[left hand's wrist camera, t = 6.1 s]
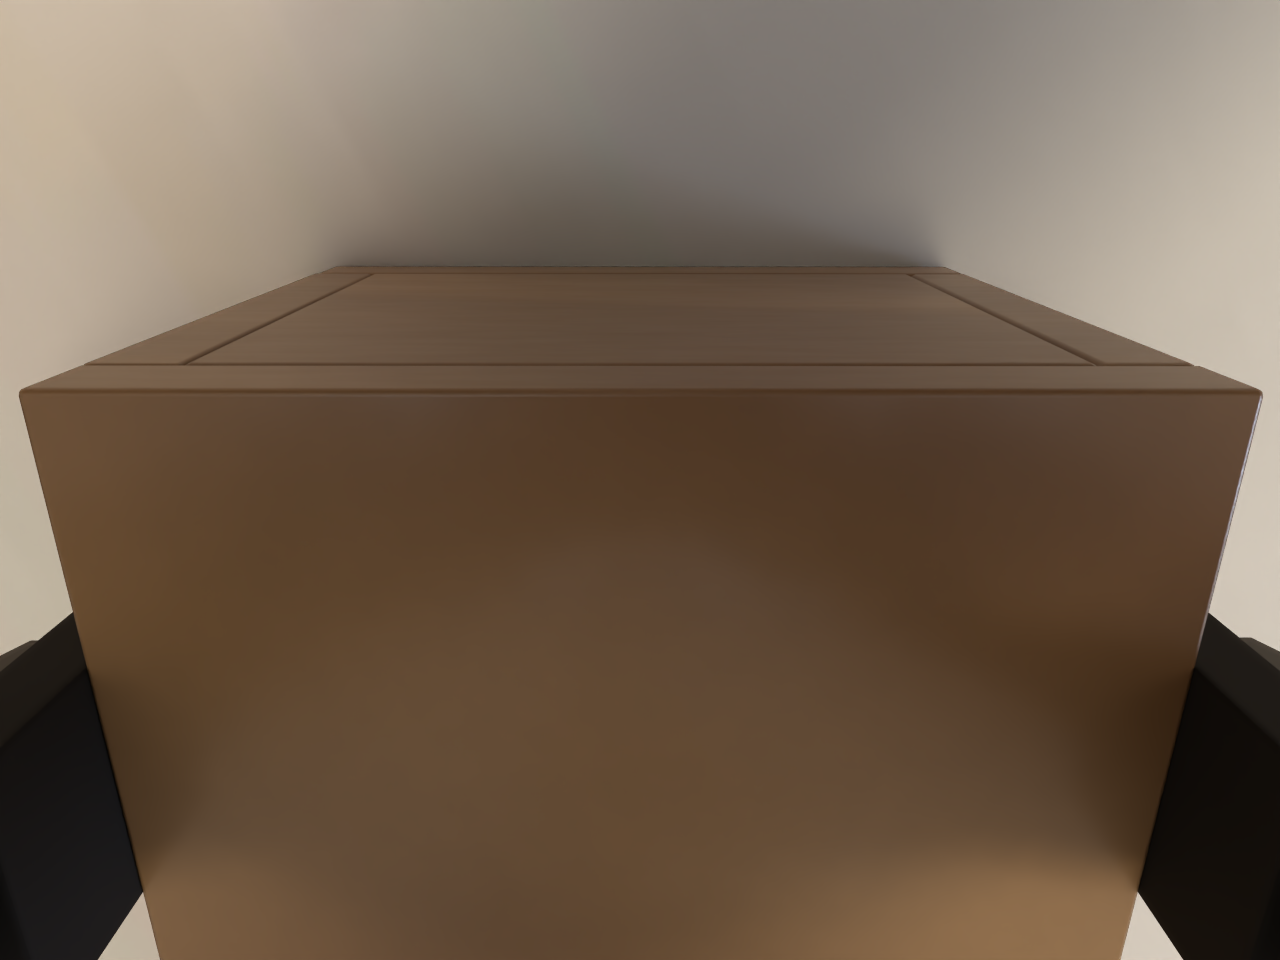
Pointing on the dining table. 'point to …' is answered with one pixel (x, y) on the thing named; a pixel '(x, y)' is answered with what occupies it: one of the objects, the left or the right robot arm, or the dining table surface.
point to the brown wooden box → (640, 612)
